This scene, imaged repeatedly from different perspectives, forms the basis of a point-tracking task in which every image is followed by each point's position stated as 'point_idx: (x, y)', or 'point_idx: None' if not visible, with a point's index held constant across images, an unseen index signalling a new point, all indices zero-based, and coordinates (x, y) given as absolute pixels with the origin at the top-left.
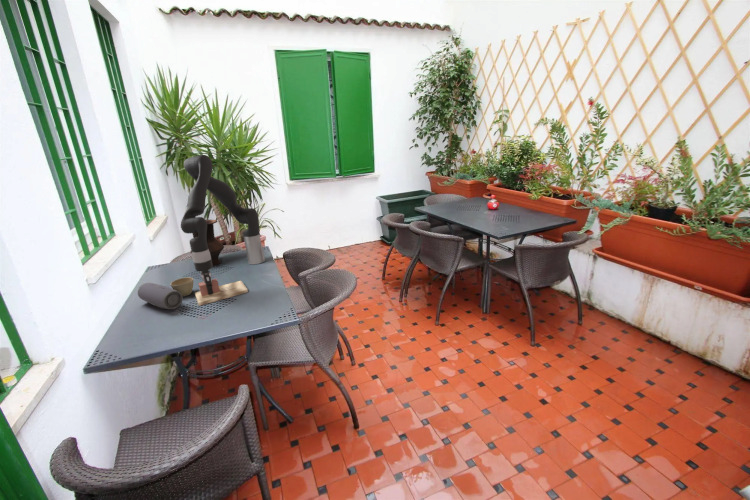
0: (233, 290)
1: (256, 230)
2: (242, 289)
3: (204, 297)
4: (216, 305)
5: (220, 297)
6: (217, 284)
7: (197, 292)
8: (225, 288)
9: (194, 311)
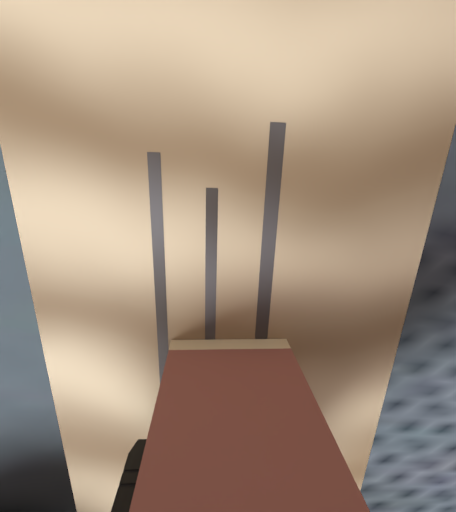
0: (343, 188)
1: None
2: (425, 56)
3: None
4: (453, 377)
5: (390, 348)
6: (342, 473)
7: (95, 508)
8: (185, 265)
9: (407, 496)
